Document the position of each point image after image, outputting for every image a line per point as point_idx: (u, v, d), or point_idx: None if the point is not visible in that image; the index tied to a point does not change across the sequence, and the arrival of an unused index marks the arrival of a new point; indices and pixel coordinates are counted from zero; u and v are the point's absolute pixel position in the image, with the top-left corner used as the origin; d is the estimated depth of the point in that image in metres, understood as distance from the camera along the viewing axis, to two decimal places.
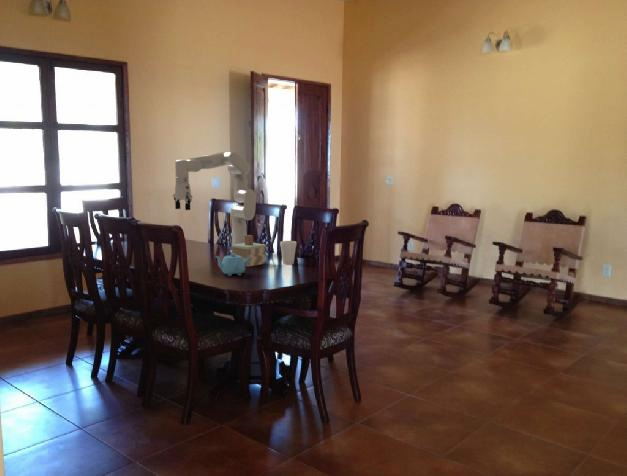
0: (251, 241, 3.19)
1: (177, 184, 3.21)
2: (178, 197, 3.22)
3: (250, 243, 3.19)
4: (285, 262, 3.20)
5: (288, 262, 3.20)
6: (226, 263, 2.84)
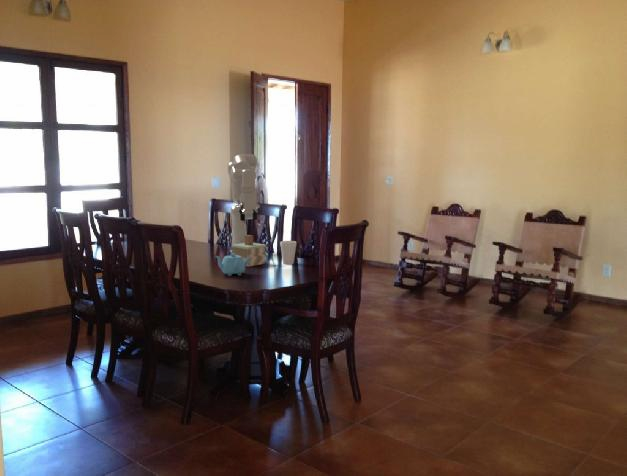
0: (251, 241, 3.19)
1: (249, 194, 3.13)
2: (249, 208, 3.15)
3: (250, 243, 3.19)
4: (285, 262, 3.20)
5: (288, 262, 3.20)
6: (226, 263, 2.84)
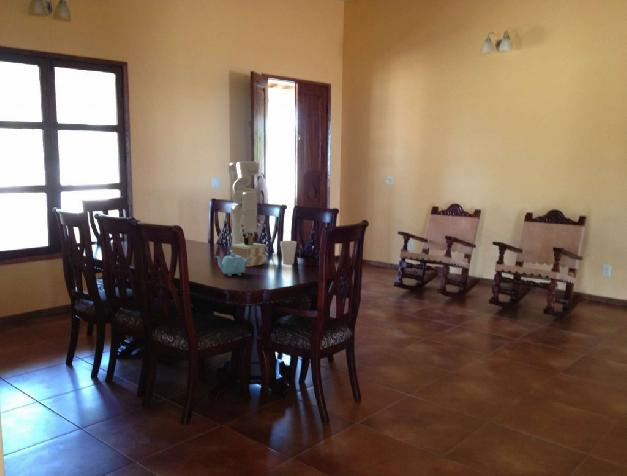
0: (251, 241, 3.19)
1: (249, 217, 3.15)
2: (249, 230, 3.17)
3: (250, 243, 3.19)
4: (285, 262, 3.20)
5: (288, 262, 3.20)
6: (226, 263, 2.84)
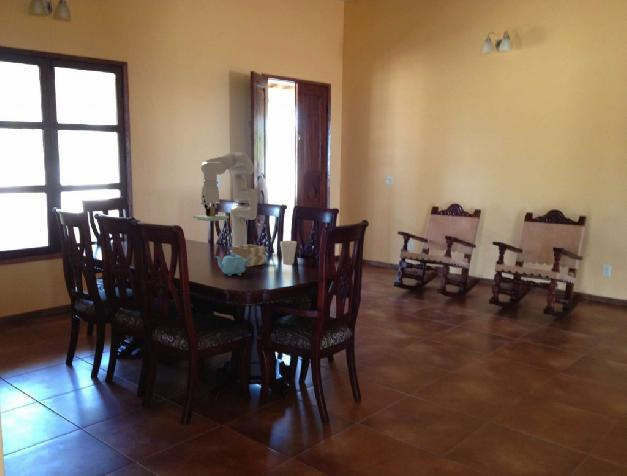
0: (213, 212, 3.14)
1: (211, 187, 3.10)
2: (211, 201, 3.12)
3: (212, 214, 3.14)
4: (285, 262, 3.20)
5: (288, 262, 3.20)
6: (226, 263, 2.84)
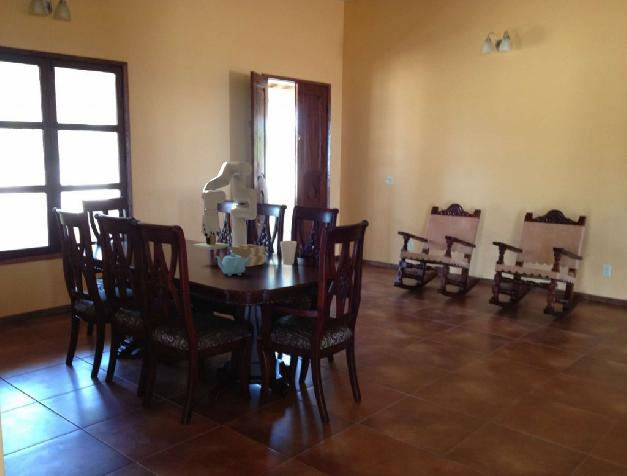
0: (213, 240, 3.16)
1: (211, 216, 3.13)
2: (211, 229, 3.14)
3: (212, 242, 3.16)
4: (285, 262, 3.20)
5: (288, 262, 3.20)
6: (226, 263, 2.84)
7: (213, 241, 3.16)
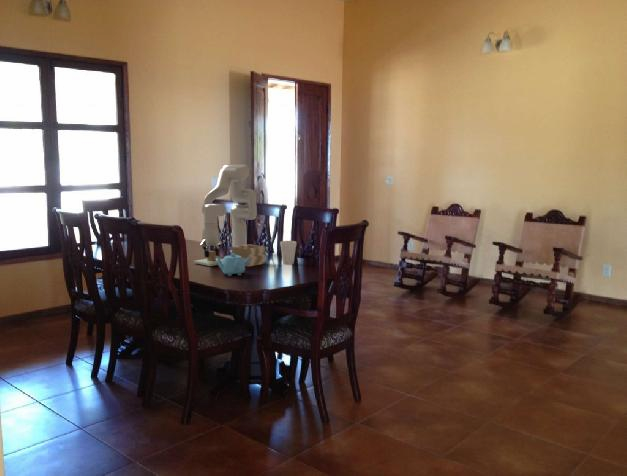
0: (214, 257, 3.18)
1: (211, 230, 3.14)
2: (212, 243, 3.15)
3: (213, 259, 3.18)
4: (285, 262, 3.20)
5: (288, 262, 3.20)
6: (226, 263, 2.84)
7: (214, 257, 3.18)
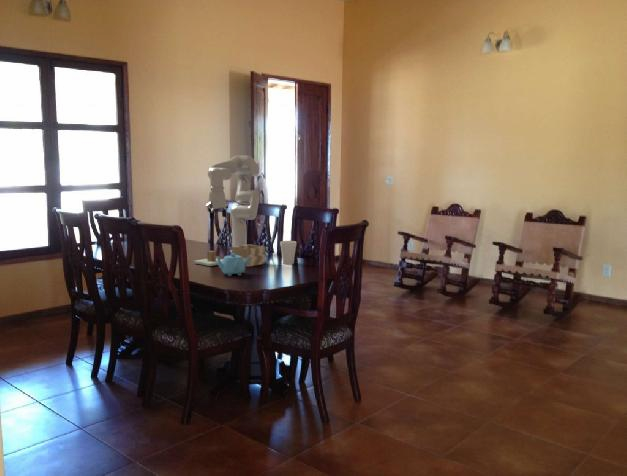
0: (214, 257, 3.18)
1: (218, 193, 3.21)
2: (218, 206, 3.23)
3: (213, 259, 3.18)
4: (285, 262, 3.20)
5: (288, 262, 3.20)
6: (226, 263, 2.84)
7: (214, 257, 3.18)
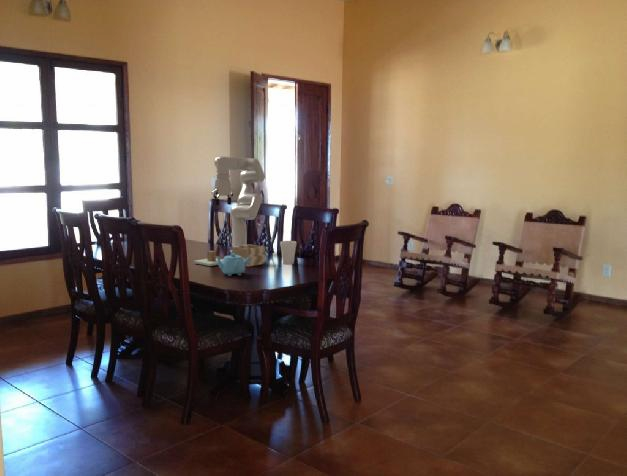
0: (214, 257, 3.18)
1: (223, 180, 3.30)
2: (224, 193, 3.32)
3: (213, 259, 3.18)
4: (285, 262, 3.20)
5: (288, 262, 3.20)
6: (226, 263, 2.84)
7: (214, 257, 3.18)
